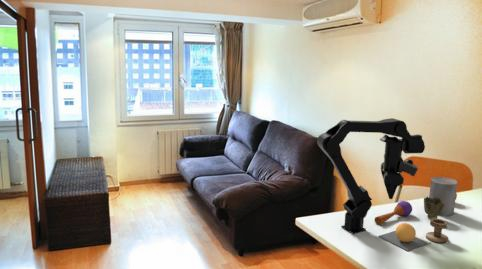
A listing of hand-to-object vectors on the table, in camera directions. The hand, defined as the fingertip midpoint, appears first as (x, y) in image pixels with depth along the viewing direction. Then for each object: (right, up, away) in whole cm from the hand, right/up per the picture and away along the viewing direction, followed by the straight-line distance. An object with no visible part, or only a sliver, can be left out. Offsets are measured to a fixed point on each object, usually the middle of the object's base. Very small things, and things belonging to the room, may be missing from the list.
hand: (389, 194), depth 141 cm
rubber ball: (+2, -11, -10) cm, 15 cm away
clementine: (+37, -8, +29) cm, 48 cm away
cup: (+21, -11, +11) cm, 27 cm away
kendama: (+6, -12, +11) cm, 17 cm away
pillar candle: (+29, -10, +19) cm, 36 cm away
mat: (+2, -15, -7) cm, 17 cm away
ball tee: (+14, -15, -6) cm, 21 cm away
